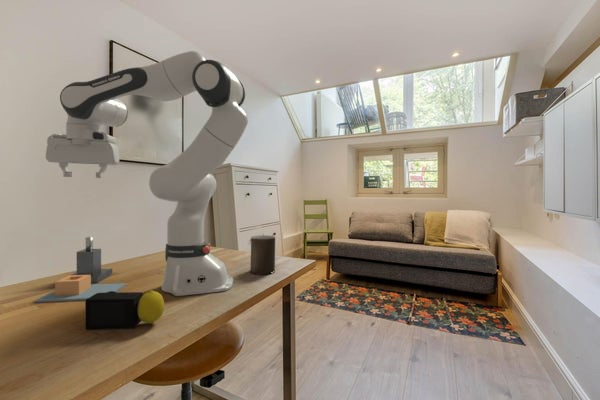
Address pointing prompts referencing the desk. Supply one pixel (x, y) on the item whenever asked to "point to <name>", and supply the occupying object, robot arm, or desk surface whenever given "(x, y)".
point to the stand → (91, 263)
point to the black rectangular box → (112, 310)
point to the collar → (72, 285)
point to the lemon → (150, 307)
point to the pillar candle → (262, 254)
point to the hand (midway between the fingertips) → (83, 177)
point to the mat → (83, 296)
